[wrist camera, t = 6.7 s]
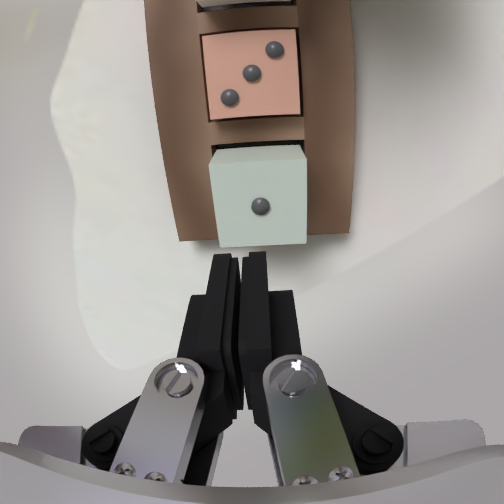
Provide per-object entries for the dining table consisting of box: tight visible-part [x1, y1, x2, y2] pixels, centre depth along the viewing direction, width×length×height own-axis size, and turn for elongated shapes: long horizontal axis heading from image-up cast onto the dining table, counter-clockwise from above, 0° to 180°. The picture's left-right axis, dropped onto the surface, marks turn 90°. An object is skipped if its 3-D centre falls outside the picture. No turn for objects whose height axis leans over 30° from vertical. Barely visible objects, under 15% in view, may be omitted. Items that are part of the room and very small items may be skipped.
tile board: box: [144, 0, 355, 241], centre depth 15 cm, size 11×20×2 cm, turn 4°
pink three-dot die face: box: [202, 29, 300, 120], centre depth 15 cm, size 5×5×3 cm
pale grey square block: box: [209, 145, 307, 248], centre depth 16 cm, size 5×5×3 cm
